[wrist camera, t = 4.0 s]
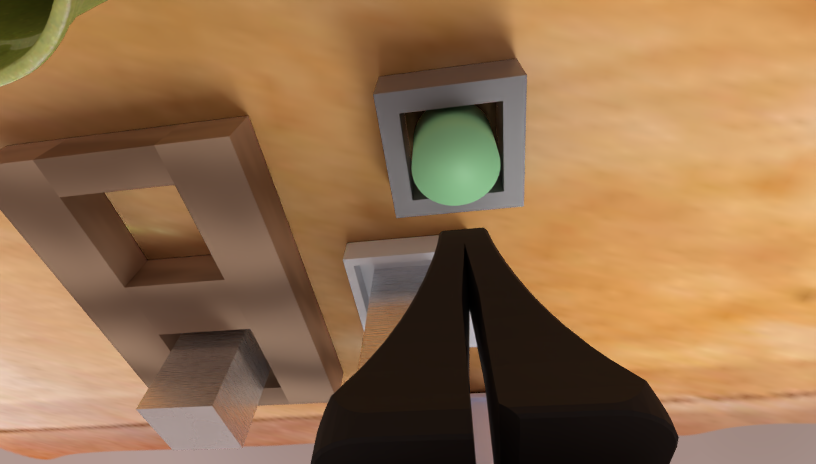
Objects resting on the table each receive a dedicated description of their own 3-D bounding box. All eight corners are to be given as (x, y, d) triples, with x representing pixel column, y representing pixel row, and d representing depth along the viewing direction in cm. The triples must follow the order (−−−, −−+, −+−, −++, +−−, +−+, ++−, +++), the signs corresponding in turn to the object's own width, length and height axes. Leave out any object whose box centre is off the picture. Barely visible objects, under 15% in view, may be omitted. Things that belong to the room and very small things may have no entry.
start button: (492, 168, 21) (500, 201, 18) (418, 176, 21) (417, 209, 19) (490, 94, 19) (500, 120, 16) (408, 105, 19) (405, 132, 17)
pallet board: (343, 372, 32) (337, 402, 30) (181, 381, 33) (166, 409, 31) (248, 115, 20) (229, 136, 18) (6, 145, 22) (-35, 168, 20)
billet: (454, 315, 27) (461, 419, 22) (386, 320, 28) (375, 422, 22) (448, 263, 25) (454, 365, 19) (374, 269, 25) (358, 370, 19)
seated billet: (276, 351, 31) (242, 448, 25) (219, 354, 31) (172, 450, 26) (255, 308, 28) (212, 406, 23) (193, 313, 29) (135, 409, 23)
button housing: (515, 180, 22) (523, 206, 20) (399, 192, 22) (396, 218, 20) (516, 58, 18) (526, 74, 16) (378, 76, 19) (373, 94, 17)
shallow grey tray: (475, 328, 28) (477, 346, 27) (372, 334, 29) (370, 352, 28) (469, 232, 24) (471, 249, 23) (347, 242, 25) (342, 259, 23)
